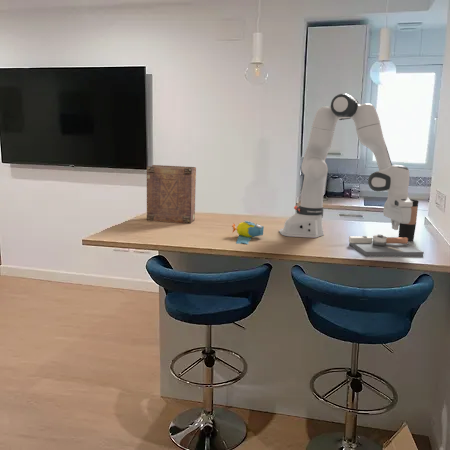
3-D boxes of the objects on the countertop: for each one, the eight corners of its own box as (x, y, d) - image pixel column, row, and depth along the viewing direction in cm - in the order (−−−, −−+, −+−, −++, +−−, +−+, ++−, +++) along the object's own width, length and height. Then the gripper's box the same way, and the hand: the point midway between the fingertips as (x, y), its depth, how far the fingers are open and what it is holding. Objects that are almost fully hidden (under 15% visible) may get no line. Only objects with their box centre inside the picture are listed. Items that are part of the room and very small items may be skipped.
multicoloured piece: (375, 246, 214) (376, 236, 213) (370, 242, 220) (371, 233, 219) (409, 246, 216) (410, 236, 215) (403, 243, 222) (404, 233, 221)
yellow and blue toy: (236, 214, 246) (265, 216, 244) (235, 230, 247) (264, 233, 246) (229, 225, 218) (262, 228, 217) (228, 244, 220) (261, 246, 219)
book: (146, 220, 264) (146, 166, 257) (151, 217, 272) (151, 164, 266) (190, 223, 259) (191, 168, 253) (194, 220, 268) (195, 167, 262)
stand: (363, 256, 205) (364, 245, 204) (347, 244, 224) (348, 234, 223) (423, 256, 208) (424, 246, 207) (401, 244, 227) (402, 235, 226)
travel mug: (395, 237, 241) (399, 198, 237) (409, 238, 242) (414, 199, 238) (401, 241, 234) (406, 201, 230) (416, 241, 234) (421, 201, 230)
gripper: (381, 196, 230) (378, 224, 233) (401, 203, 210) (398, 234, 213) (393, 196, 231) (391, 224, 234) (414, 203, 211) (411, 234, 214)
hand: (394, 229), depth 223 cm, fingers closed
